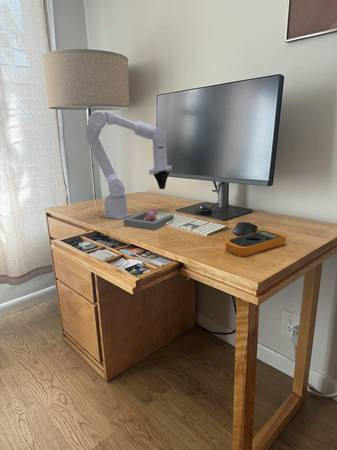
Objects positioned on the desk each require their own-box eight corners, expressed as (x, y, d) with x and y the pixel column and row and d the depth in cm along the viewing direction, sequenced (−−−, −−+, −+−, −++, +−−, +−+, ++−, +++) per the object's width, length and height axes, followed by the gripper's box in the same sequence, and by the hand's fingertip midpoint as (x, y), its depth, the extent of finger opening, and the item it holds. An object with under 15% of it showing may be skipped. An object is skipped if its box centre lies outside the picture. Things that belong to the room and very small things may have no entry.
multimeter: (222, 250, 94) (221, 239, 93) (265, 238, 102) (266, 228, 101) (241, 259, 86) (241, 248, 85) (287, 245, 94) (287, 234, 93)
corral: (124, 225, 123) (123, 219, 123) (144, 217, 134) (143, 211, 133) (154, 230, 115) (154, 223, 114) (173, 221, 125) (173, 215, 125)
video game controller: (151, 230, 121) (158, 214, 119) (140, 225, 121) (147, 209, 119) (153, 222, 131) (160, 207, 128) (143, 218, 130) (150, 203, 128)
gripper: (157, 159, 126) (160, 192, 130) (177, 155, 137) (178, 186, 141) (144, 159, 130) (146, 191, 134) (163, 155, 141) (165, 185, 145)
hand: (162, 188), depth 138 cm, fingers closed
